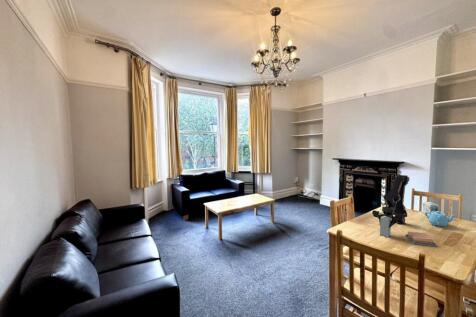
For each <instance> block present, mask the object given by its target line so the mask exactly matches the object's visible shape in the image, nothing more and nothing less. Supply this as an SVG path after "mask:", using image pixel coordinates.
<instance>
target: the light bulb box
mask: <svg viewBox="0 0 476 317" xmlns="http://www.w3.org/2000/svg"><path fill="white" fill-rule="evenodd" d="M436 211H440V205H439V204H437V203H434V202H431V201H422V212H423V213H424V214H423V213H422V212H421V213H422V214H423V215H425V212H429V213H432V212H436ZM427 215H428V217H429V215H430V214H427Z"/></svg>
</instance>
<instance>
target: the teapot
mask: <svg viewBox="0 0 476 317" xmlns="http://www.w3.org/2000/svg"><path fill="white" fill-rule="evenodd" d="M427 214H430V215H429V216H428V215H427ZM424 216H425V217H426V218H427V221H428V223H430V224H431V226H433V227H436V226H440V227H441V228H446V227H447V226H448V225H449V223H451V222H452V221H453V218H454V216H456V214H451V215H450V216H449V218H448V216H447V215H446V214H445V213H444V212H441V211H440V210H439V211H436V212H432V213H429V212H425V214H424Z"/></svg>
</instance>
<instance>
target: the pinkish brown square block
mask: <svg viewBox="0 0 476 317" xmlns="http://www.w3.org/2000/svg"><path fill="white" fill-rule="evenodd" d="M404 235H405V236H404V237H406V239H408V240H409V242H411V243H412V244H413V245H418V246H426V247H434V248H435V247H437V244H436V242H435V240H434V239H433V237H432V236H430V235H428V234H427V232H418V231H416V232H415V231H407V233H406V234H404Z"/></svg>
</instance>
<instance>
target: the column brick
mask: <svg viewBox="0 0 476 317" xmlns="http://www.w3.org/2000/svg"><path fill="white" fill-rule="evenodd" d="M391 219H392V218H390V217H388V216H382V217H381V218H380V223H379V235H380V236H382V237H386V238H389V237H390V236H391V229H392V227H391V228H389V225H390V222H391Z"/></svg>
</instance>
